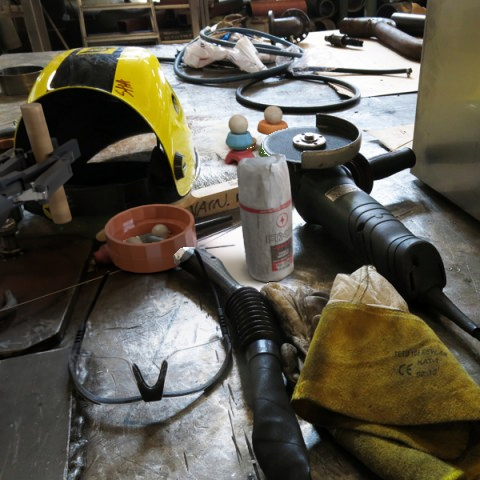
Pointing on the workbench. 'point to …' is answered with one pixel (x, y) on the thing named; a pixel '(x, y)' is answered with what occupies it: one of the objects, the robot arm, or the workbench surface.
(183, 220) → the bowl
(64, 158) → the robot arm
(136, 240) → the bead
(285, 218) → the spray can
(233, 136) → the multicoloured wooden toy
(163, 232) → the bead
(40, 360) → the workbench surface
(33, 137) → the stick
